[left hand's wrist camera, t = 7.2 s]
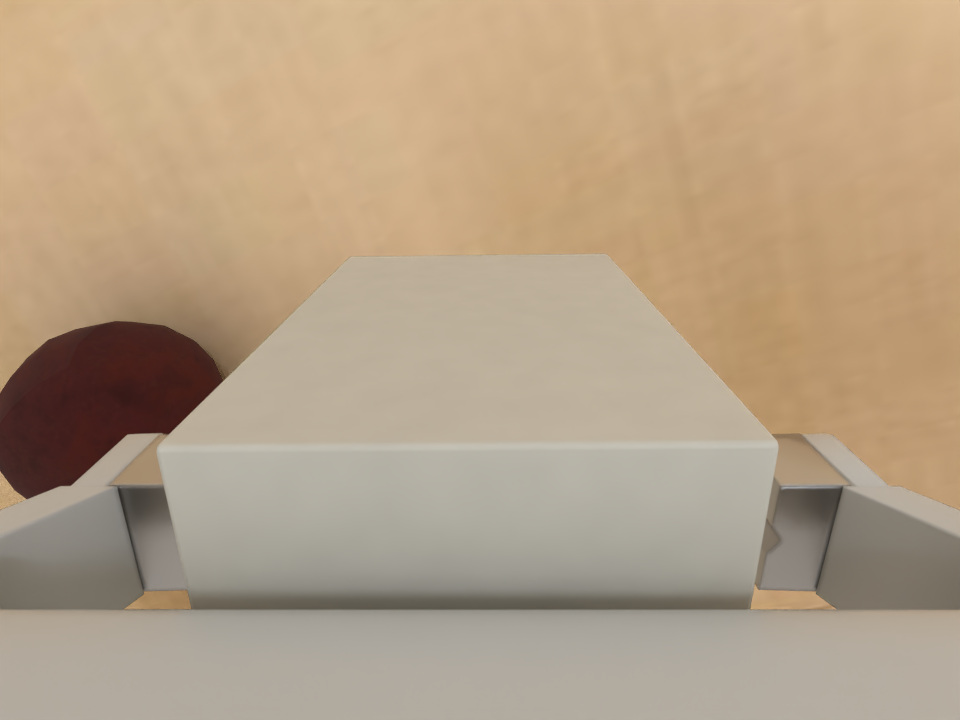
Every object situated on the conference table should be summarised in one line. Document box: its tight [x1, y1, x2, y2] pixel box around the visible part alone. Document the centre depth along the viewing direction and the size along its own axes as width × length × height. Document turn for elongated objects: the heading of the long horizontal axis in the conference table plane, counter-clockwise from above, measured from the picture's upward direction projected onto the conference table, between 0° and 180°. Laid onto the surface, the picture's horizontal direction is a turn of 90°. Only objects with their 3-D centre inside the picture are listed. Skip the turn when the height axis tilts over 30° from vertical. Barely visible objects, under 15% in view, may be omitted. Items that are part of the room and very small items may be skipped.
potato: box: [0, 321, 223, 499], centre depth 23 cm, size 7×8×7 cm
